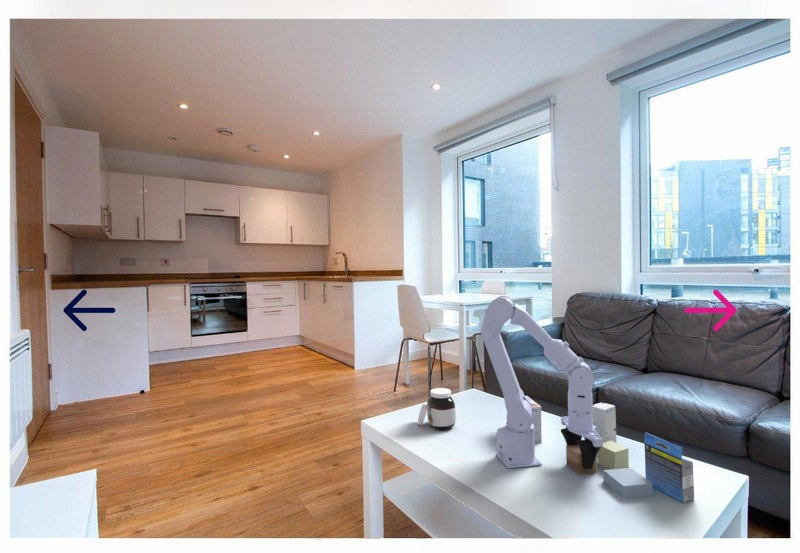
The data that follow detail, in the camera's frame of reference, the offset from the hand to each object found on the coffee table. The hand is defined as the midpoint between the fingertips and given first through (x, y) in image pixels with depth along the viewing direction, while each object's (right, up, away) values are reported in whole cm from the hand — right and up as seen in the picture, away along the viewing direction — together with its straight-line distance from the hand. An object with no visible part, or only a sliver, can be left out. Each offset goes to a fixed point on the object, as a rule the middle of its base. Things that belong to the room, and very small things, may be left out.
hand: (581, 462), depth 99 cm
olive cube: (+9, -1, +1) cm, 9 cm away
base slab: (+6, -2, -9) cm, 11 cm away
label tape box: (+15, -2, -11) cm, 18 cm away
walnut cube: (0, -1, 0) cm, 1 cm away
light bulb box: (-8, -2, +20) cm, 22 cm away
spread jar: (-35, -2, +29) cm, 45 cm away
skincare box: (+12, -1, +11) cm, 16 cm away
